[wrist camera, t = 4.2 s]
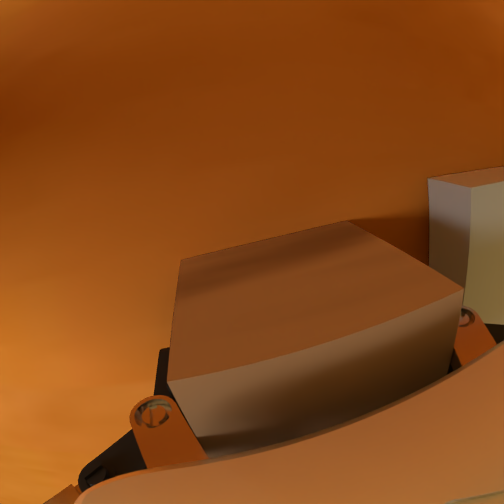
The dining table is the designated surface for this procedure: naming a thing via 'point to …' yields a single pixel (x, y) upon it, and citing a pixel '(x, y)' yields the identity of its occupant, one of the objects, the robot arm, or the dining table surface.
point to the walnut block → (304, 335)
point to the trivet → (470, 237)
